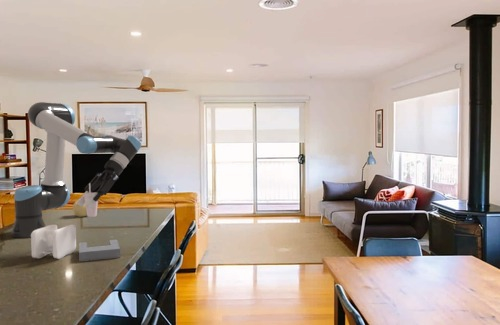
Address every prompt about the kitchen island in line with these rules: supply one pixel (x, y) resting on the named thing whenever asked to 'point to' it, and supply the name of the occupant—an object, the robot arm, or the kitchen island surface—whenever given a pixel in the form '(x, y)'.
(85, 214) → the pale yellow round lump
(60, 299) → the kitchen island surface
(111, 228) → the kitchen island surface
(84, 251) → the notched board
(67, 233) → the cable organizer
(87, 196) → the smoothie
